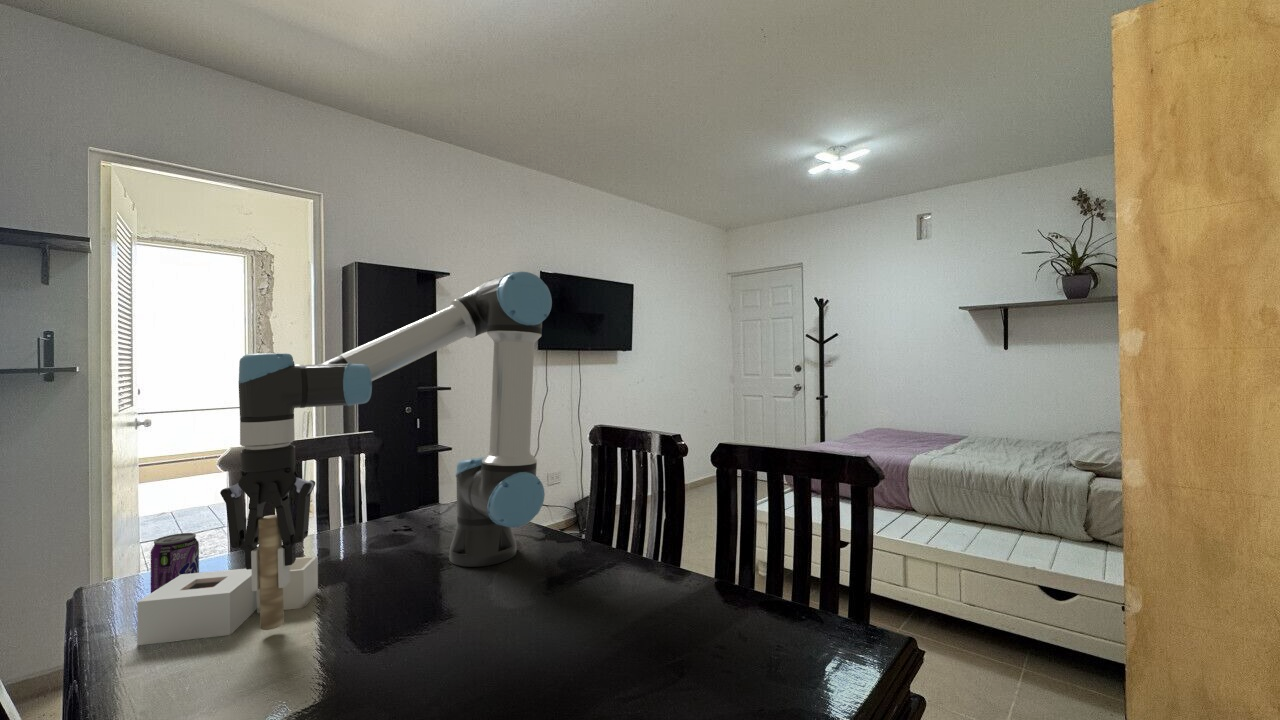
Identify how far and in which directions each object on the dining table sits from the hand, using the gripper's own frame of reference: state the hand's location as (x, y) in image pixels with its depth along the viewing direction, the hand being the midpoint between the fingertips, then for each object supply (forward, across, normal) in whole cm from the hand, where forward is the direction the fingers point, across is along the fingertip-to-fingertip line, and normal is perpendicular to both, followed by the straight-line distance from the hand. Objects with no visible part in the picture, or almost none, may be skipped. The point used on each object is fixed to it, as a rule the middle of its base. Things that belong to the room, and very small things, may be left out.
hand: (271, 585), depth 90 cm
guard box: (+8, +13, -8) cm, 17 cm away
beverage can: (+8, +24, -21) cm, 33 cm away
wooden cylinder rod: (+7, 0, 0) cm, 7 cm away
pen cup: (+8, +2, -14) cm, 16 cm away
